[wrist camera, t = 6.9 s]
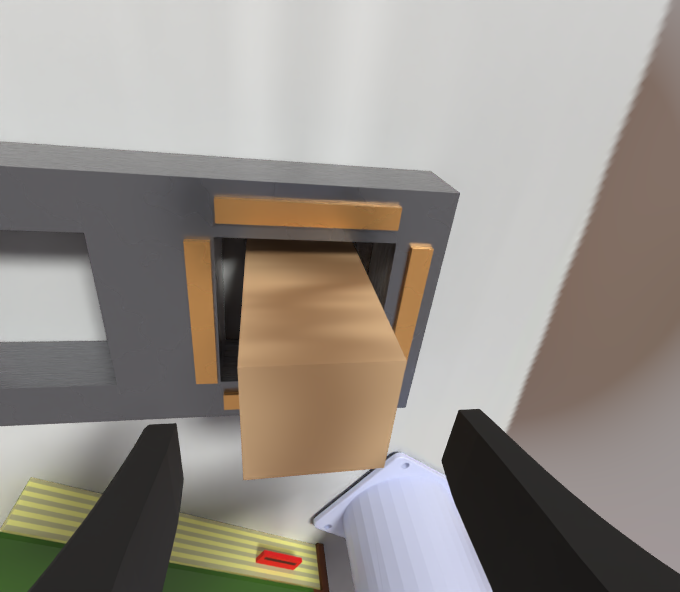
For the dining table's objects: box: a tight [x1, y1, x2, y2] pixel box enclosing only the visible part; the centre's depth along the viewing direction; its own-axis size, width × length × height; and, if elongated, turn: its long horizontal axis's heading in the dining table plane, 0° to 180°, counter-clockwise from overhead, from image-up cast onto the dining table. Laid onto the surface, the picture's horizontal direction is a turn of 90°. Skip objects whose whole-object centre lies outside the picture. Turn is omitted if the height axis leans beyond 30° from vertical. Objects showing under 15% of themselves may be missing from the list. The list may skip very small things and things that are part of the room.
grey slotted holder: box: [0, 142, 460, 426], centre depth 16 cm, size 20×10×3 cm, turn 84°
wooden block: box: [237, 238, 407, 480], centre depth 15 cm, size 4×4×8 cm
